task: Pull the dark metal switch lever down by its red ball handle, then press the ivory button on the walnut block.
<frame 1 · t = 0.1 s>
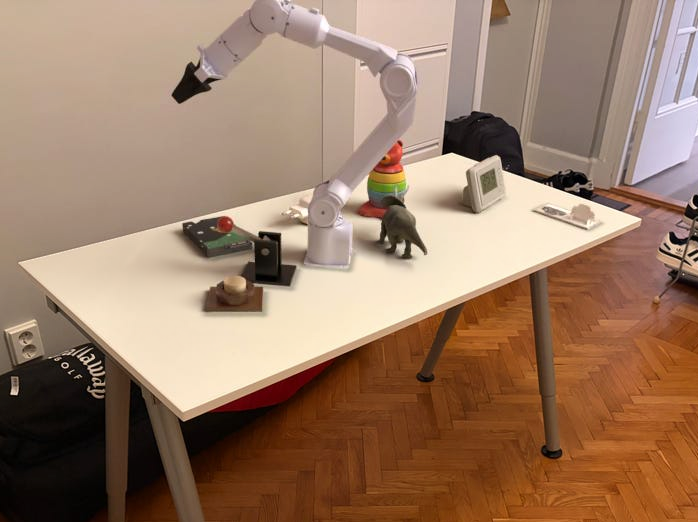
hand: (181, 94, 135), 32 cm above the table, tool tilted 50°, fingers open, 7 cm apart
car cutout: (566, 217, 180), on the table
switch bracket: (268, 277, 145), on the table
stacking bear: (383, 212, 176), on the table
button: (235, 284, 133), point 4 cm above the table, slide at 0.1 cm
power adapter: (304, 224, 168), on the table
digital clock: (483, 204, 185), on the table
disk drive: (217, 243, 157), on the table
lever: (246, 234, 140), point 9 cm above the table, hinge at 24.0°
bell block: (236, 303, 135), on the table
toy dinosaur: (396, 250, 159), on the table
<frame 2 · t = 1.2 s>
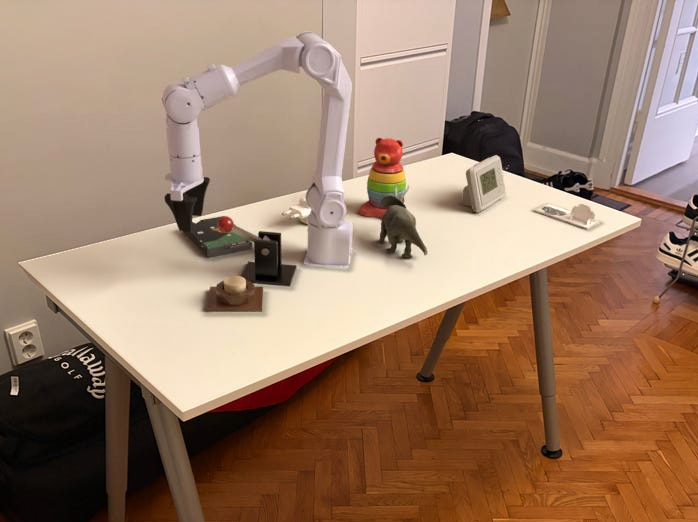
hand: (190, 222, 139), 10 cm above the table, tool pointing down, fingers open, 7 cm apart
nothing on the table moved.
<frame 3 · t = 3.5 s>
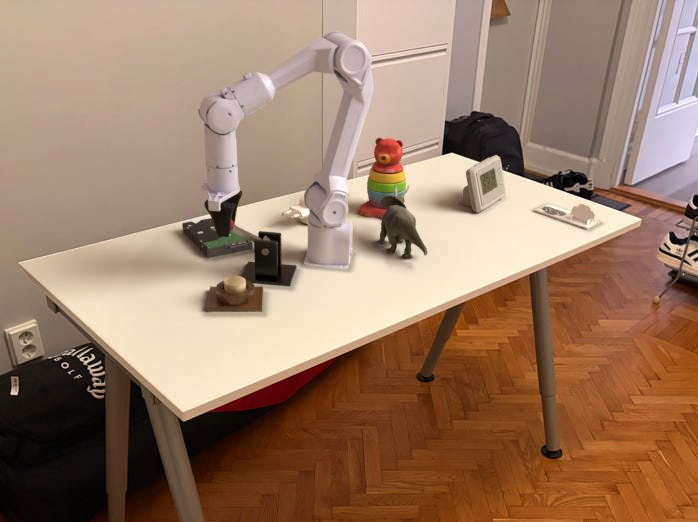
hand: (225, 232, 140), 9 cm above the table, tool pointing down, fingers closed on lever, 3 cm apart
lever: (246, 234, 140), point 9 cm above the table, hinge at 24.0°, touching gripper
everything else where it was.
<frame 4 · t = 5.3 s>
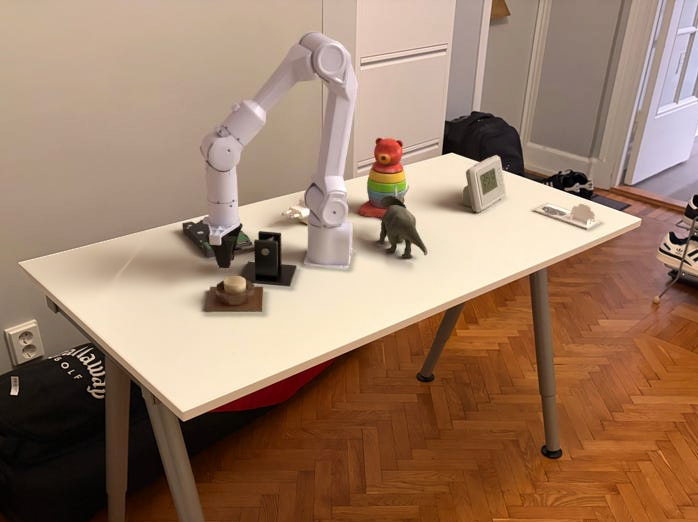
hand: (226, 263, 143), 2 cm above the table, tool pointing down, fingers closed on lever, 3 cm apart
lever: (246, 249, 142), point 6 cm above the table, hinge at -16.9°, touching gripper
everything else where it was.
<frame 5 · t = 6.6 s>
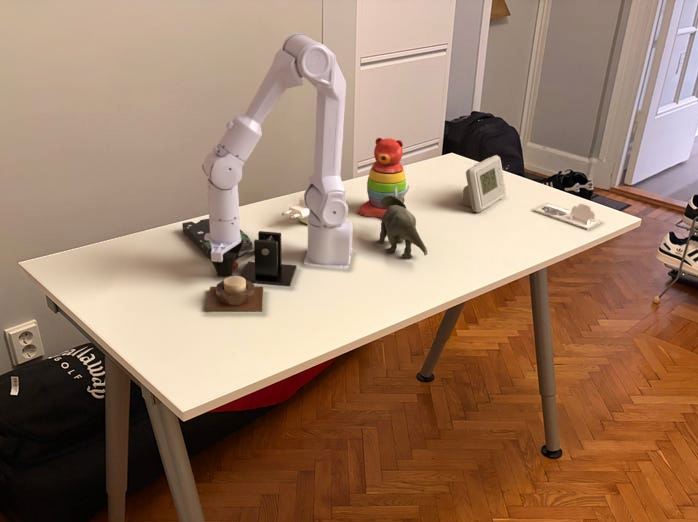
hand: (227, 278, 145), 0 cm above the table, tool pointing down, fingers closed on lever, 3 cm apart
lever: (248, 254, 142), point 5 cm above the table, hinge at -31.0°, touching gripper
everything else where it was.
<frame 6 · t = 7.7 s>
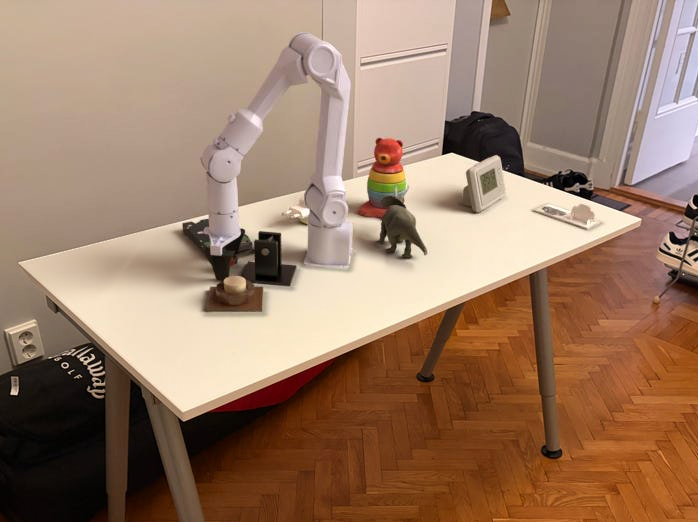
hand: (227, 272, 145), 0 cm above the table, tool pointing down, fingers open, 7 cm apart
lever: (247, 252, 142), point 5 cm above the table, hinge at -24.1°
everything else where it was.
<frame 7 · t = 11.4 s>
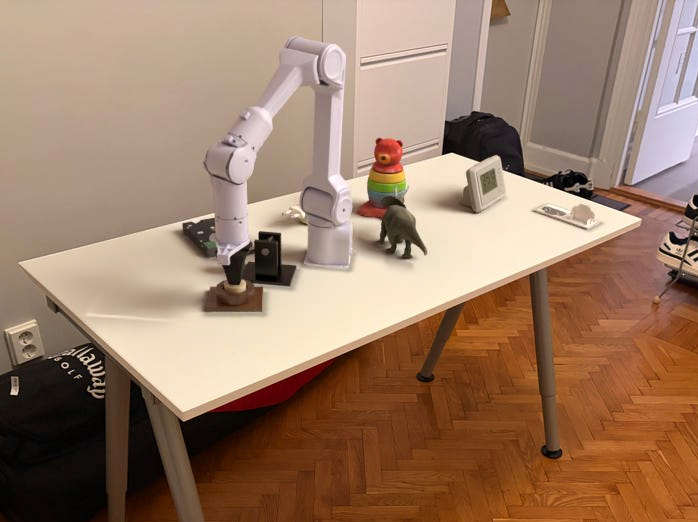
hand: (234, 283, 133), 4 cm above the table, tool pointing down, fingers closed, pressing on button
button: (235, 287, 133), point 3 cm above the table, slide at -0.4 cm, touching gripper
everything else where it was.
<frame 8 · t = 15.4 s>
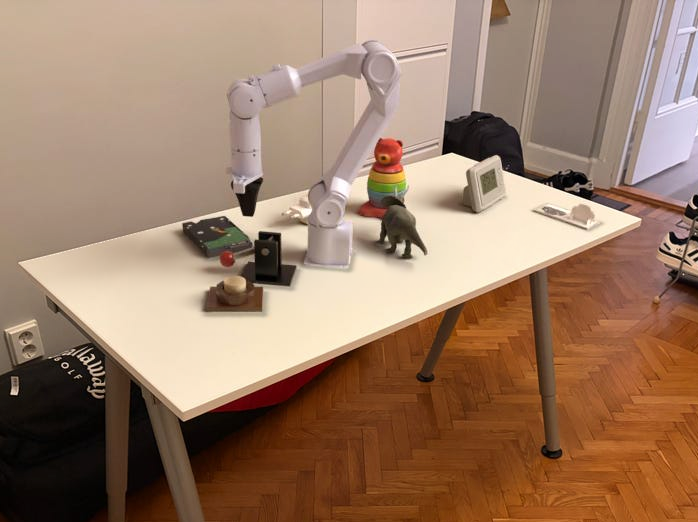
hand: (248, 215, 144), 10 cm above the table, tool pointing down, fingers closed
button: (235, 284, 133), point 4 cm above the table, slide at 0.1 cm
everything else where it was.
at the end: lever at -24° (first picture: +24°); button pushed in 1.1 cm at the most during the clip, back to where it started at the end; button slide at 0.1 cm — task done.
